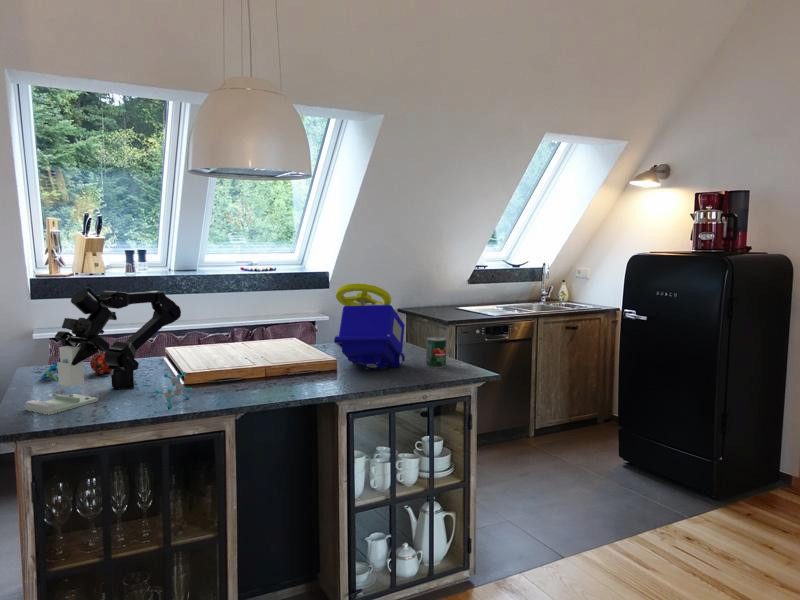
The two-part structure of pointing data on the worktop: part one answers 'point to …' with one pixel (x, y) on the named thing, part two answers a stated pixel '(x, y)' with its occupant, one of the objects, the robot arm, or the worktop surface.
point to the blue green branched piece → (48, 372)
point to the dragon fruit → (99, 364)
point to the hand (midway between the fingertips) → (66, 363)
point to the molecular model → (177, 391)
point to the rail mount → (59, 403)
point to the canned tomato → (436, 352)
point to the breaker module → (69, 367)
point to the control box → (370, 328)
